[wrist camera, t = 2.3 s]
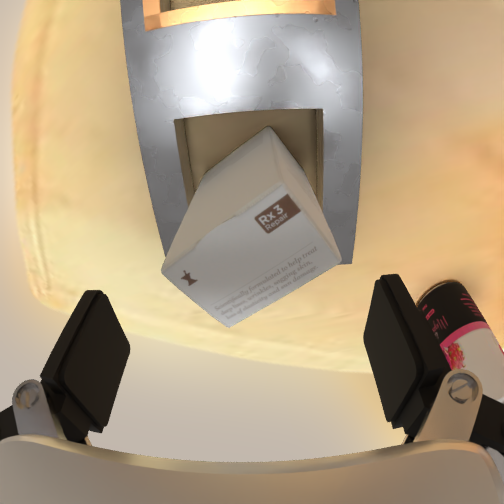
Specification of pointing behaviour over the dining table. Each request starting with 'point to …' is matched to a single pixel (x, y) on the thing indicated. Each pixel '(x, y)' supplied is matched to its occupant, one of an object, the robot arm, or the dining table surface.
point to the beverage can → (465, 336)
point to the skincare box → (250, 233)
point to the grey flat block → (247, 90)
